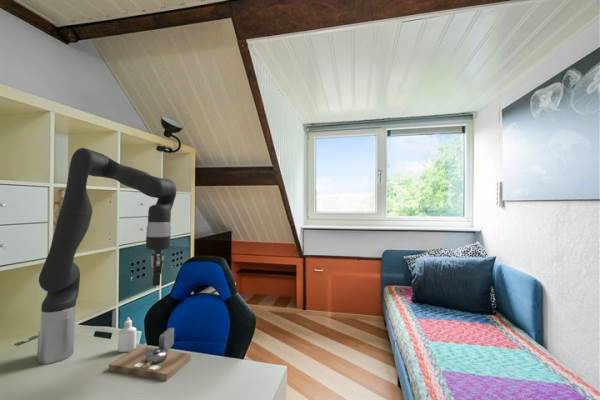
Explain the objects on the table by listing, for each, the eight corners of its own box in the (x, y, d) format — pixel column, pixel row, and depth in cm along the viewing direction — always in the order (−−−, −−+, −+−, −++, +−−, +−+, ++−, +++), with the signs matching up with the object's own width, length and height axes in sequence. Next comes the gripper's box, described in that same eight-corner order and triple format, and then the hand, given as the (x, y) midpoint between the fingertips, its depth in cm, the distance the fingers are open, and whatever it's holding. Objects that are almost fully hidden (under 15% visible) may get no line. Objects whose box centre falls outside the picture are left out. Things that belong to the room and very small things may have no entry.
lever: (136, 367, 85) (137, 348, 86) (163, 343, 101) (163, 327, 101) (156, 368, 85) (157, 349, 85) (179, 344, 101) (180, 327, 101)
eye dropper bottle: (127, 354, 97) (128, 321, 98) (116, 351, 99) (117, 318, 100) (137, 348, 101) (139, 316, 102) (127, 346, 103) (128, 314, 104)
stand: (108, 370, 88) (109, 363, 88) (138, 351, 99) (138, 345, 99) (166, 380, 83) (166, 372, 83) (190, 359, 94) (190, 353, 95)
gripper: (172, 236, 89) (169, 288, 89) (168, 233, 101) (166, 279, 100) (146, 237, 86) (143, 291, 85) (146, 233, 97) (143, 281, 96)
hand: (156, 285), depth 92 cm, fingers closed
